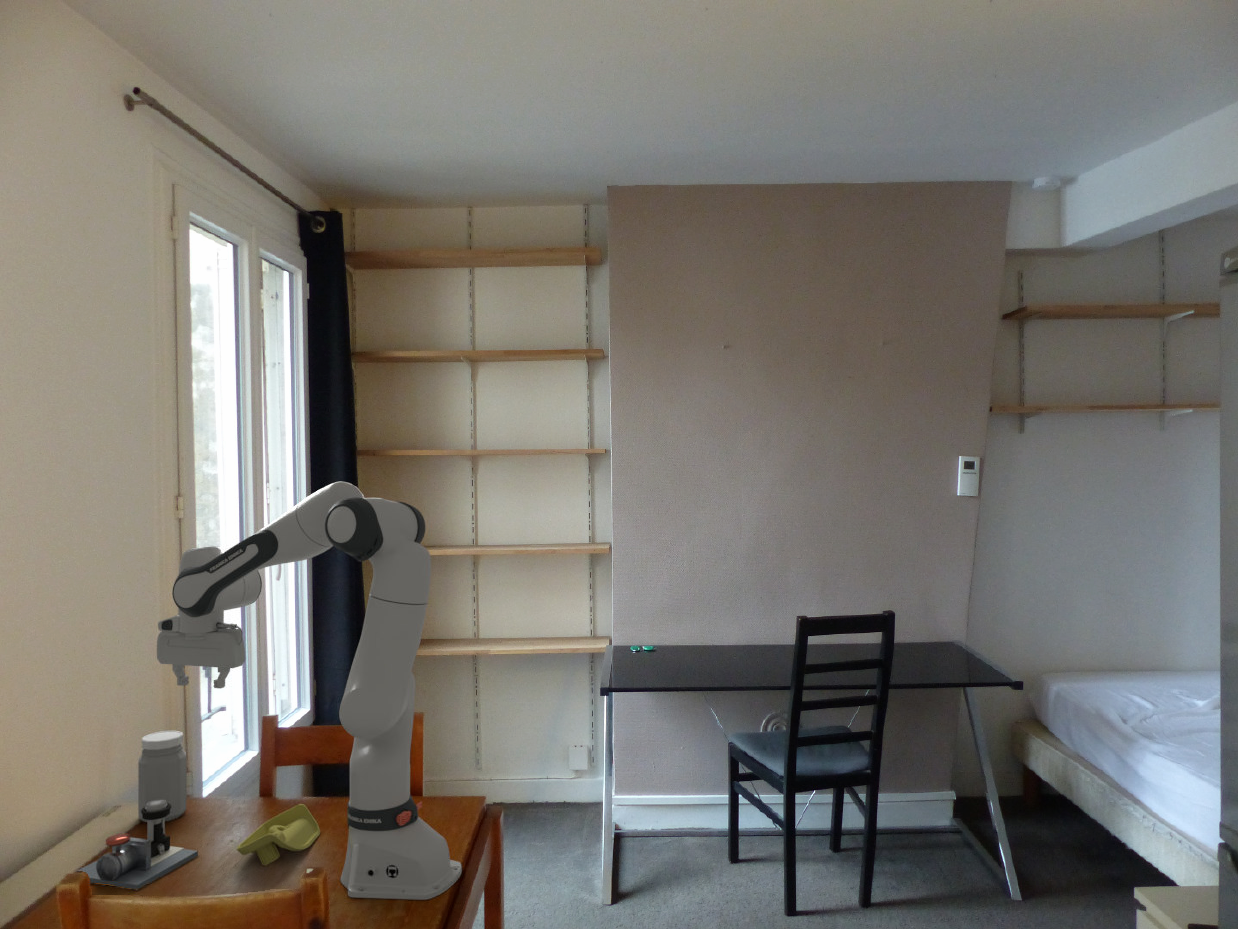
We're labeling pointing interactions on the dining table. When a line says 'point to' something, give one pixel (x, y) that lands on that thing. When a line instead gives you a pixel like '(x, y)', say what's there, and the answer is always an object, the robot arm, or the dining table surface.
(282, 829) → the plastic component
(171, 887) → the dining table surface
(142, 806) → the jar
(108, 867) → the fitting
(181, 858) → the board
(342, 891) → the dining table surface
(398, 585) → the robot arm
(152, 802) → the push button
